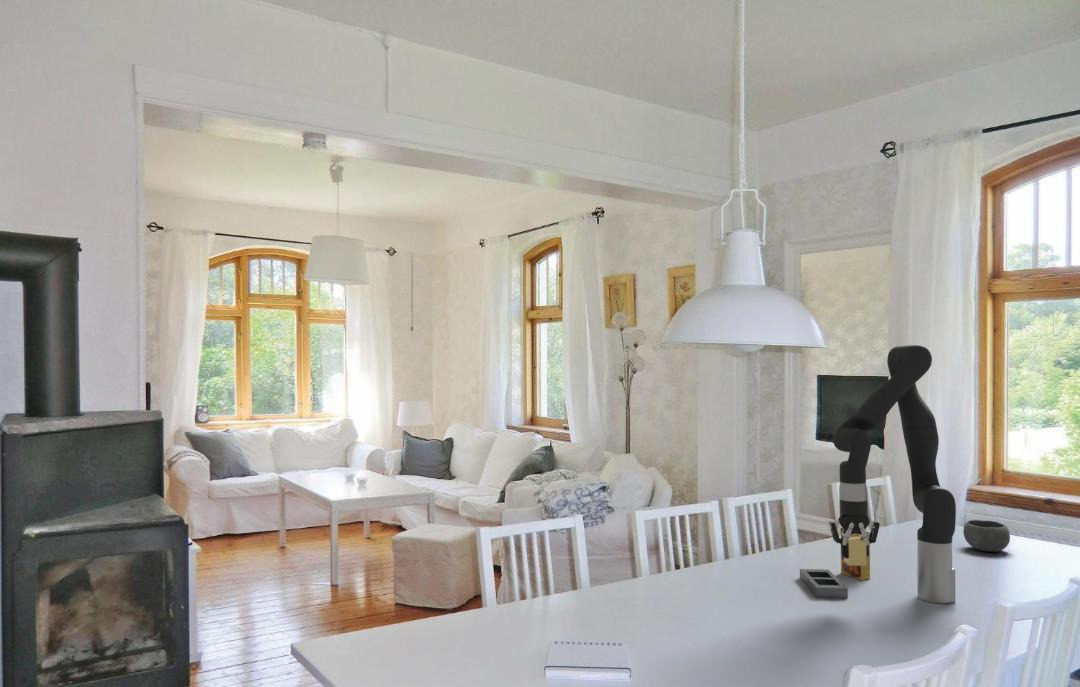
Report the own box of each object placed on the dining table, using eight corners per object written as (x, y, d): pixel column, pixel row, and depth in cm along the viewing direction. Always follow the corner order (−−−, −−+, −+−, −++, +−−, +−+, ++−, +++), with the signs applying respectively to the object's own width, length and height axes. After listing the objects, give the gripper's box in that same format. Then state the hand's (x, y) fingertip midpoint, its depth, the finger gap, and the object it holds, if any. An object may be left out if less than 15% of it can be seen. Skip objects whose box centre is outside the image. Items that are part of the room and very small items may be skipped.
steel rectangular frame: (828, 579, 249) (828, 569, 249) (847, 598, 229) (847, 588, 229) (799, 578, 250) (799, 568, 250) (816, 597, 230) (816, 587, 230)
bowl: (1019, 556, 278) (1019, 528, 278) (977, 555, 279) (977, 527, 279) (995, 545, 293) (995, 519, 293) (955, 545, 293) (955, 519, 294)
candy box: (839, 573, 255) (839, 527, 256) (849, 572, 257) (849, 525, 257) (860, 580, 247) (860, 532, 247) (870, 579, 249) (870, 531, 249)
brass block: (861, 561, 224) (860, 536, 224) (866, 565, 219) (866, 540, 219) (843, 561, 224) (843, 536, 225) (849, 565, 220) (848, 540, 220)
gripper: (874, 495, 225) (876, 554, 225) (823, 495, 226) (825, 554, 226) (883, 500, 218) (885, 561, 218) (831, 500, 219) (833, 561, 219)
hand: (855, 557), depth 222 cm, fingers closed on brass block, 4 cm apart
